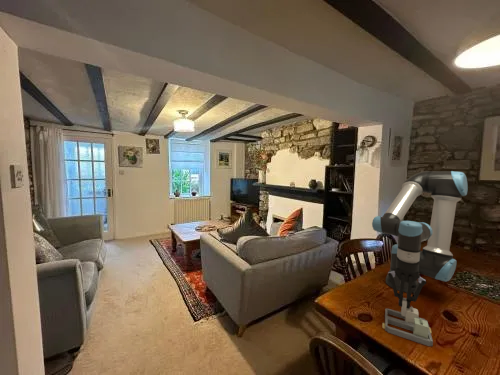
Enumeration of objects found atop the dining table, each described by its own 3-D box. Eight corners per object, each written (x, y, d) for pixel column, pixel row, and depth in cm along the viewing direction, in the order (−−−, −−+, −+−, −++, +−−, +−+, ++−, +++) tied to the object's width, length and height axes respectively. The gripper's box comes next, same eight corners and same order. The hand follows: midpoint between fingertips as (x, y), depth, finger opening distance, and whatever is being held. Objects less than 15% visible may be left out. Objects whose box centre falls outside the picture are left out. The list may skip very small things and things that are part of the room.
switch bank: (381, 313, 100) (382, 306, 99) (430, 327, 91) (430, 320, 91) (381, 333, 88) (381, 325, 87) (436, 352, 79) (437, 344, 78)
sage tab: (412, 331, 87) (414, 315, 86) (425, 335, 85) (427, 319, 84) (413, 338, 83) (415, 321, 83) (427, 342, 81) (429, 325, 81)
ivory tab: (404, 319, 94) (405, 304, 93) (416, 322, 92) (417, 307, 91) (405, 325, 90) (406, 309, 90) (417, 328, 88) (418, 312, 88)
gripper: (388, 259, 90) (385, 313, 93) (429, 267, 84) (424, 325, 86) (388, 253, 97) (385, 304, 99) (426, 260, 90) (421, 314, 92)
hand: (403, 314), depth 92 cm, fingers closed
